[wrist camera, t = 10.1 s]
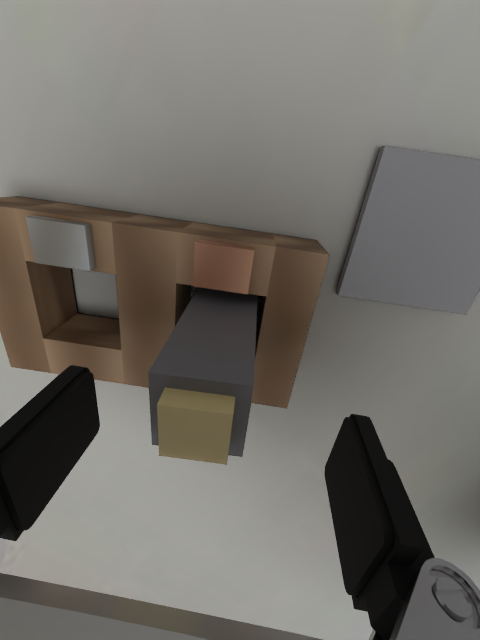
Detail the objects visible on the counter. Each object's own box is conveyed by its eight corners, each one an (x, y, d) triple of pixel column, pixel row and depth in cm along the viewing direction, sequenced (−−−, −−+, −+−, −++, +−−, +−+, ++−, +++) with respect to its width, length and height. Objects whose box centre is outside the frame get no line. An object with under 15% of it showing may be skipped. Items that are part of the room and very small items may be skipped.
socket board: (316, 240, 17) (332, 257, 13) (283, 374, 21) (287, 415, 17) (17, 196, 17) (-52, 201, 13) (48, 339, 21) (3, 372, 18)
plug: (257, 283, 18) (252, 403, 8) (251, 330, 20) (240, 476, 10) (204, 276, 18) (138, 388, 8) (202, 324, 20) (144, 463, 10)
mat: (536, 169, 14) (547, 169, 14) (459, 310, 18) (466, 314, 17) (380, 147, 14) (385, 145, 14) (335, 292, 18) (338, 295, 17)
